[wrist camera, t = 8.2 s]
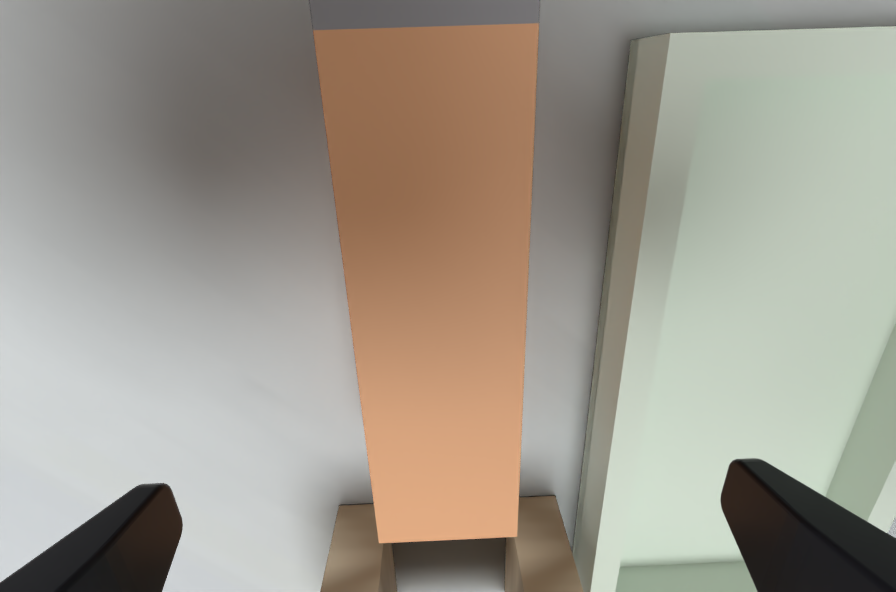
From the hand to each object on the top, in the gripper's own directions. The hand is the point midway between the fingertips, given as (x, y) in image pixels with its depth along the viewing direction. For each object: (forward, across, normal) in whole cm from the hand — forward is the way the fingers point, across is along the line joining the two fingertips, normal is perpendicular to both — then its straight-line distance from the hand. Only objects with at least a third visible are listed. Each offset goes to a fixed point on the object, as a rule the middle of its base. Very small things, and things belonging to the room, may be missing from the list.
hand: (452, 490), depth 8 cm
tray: (+9, -11, +4) cm, 15 cm away
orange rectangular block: (+9, 0, -1) cm, 9 cm away
